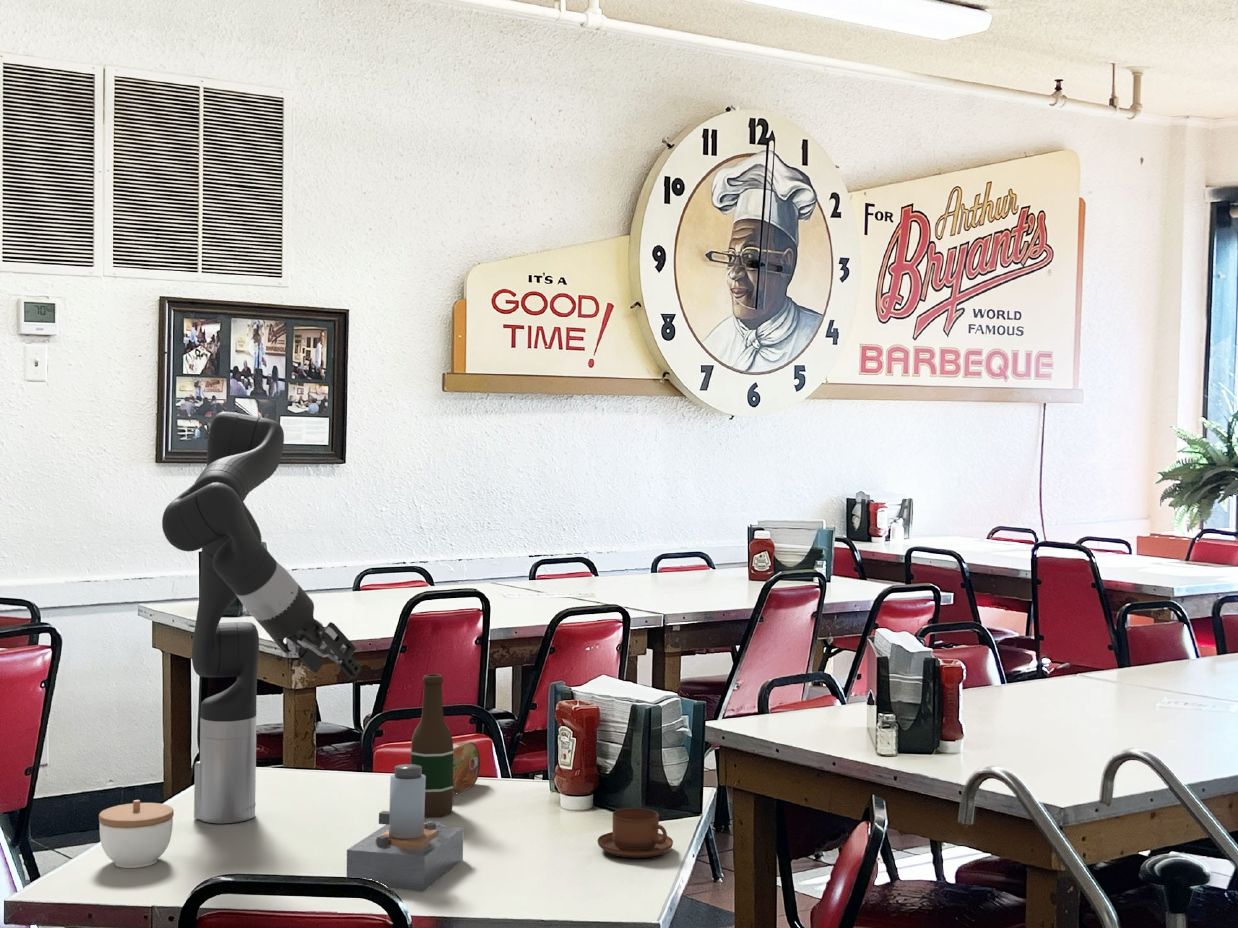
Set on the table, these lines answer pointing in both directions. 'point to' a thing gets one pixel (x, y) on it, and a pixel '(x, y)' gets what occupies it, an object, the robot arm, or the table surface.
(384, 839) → the grey block with pad
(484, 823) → the table surface
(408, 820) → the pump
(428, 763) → the beer bottle
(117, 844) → the lidded jar
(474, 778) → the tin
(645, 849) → the cup and saucer
